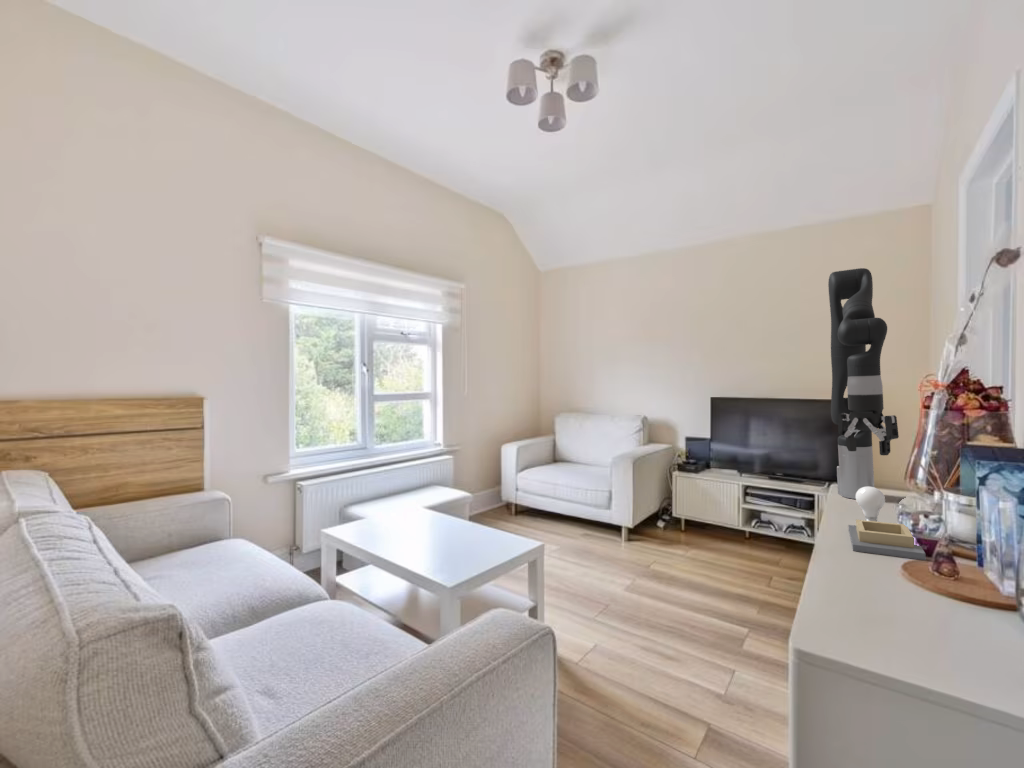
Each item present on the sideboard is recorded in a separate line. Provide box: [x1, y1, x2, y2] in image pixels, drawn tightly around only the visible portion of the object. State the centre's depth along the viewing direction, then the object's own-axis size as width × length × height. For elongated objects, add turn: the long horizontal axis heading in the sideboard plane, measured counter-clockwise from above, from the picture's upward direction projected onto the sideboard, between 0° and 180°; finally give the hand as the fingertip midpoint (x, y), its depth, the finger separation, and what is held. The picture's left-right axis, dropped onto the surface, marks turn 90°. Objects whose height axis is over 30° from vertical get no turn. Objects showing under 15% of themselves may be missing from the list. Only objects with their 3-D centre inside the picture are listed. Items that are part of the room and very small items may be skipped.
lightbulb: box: [855, 486, 886, 522], centre depth 123 cm, size 6×6×11 cm
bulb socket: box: [847, 519, 927, 561], centre depth 111 cm, size 16×13×4 cm
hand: (867, 453), depth 122 cm, fingers open, 8 cm apart
